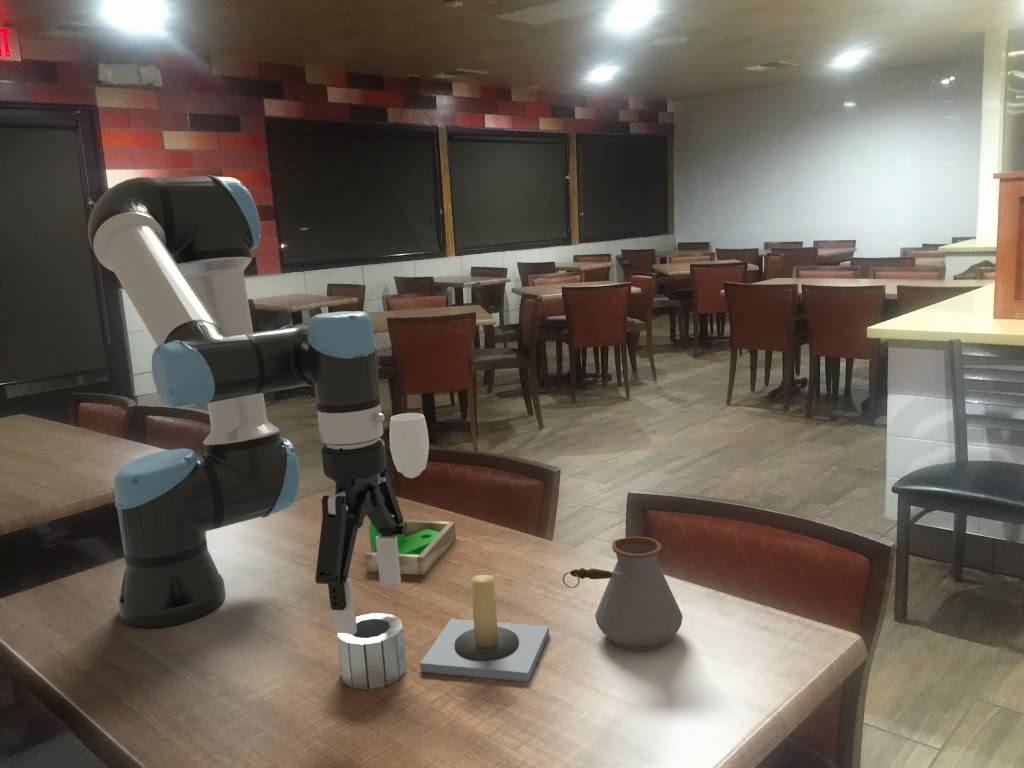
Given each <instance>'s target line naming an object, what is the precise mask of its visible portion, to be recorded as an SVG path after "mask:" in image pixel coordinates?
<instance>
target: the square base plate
mask: <svg viewBox="0 0 1024 768" xmlns="http://www.w3.org/2000/svg"><path fill="white" fill-rule="evenodd" d="M470 584H471V600H472V612H473V613H472V614H473V615H472V616H473V620H470V619H458V618H450V619H449V621H448V622H447V624H446V626H444V628H443V629H442V631H441V632H440V634H439V635H438V637H437V638H436V639H435V641H434V643H433V644H432V645H431V647H430V648H429V649H428V651H427V653H426V654H425V656H424V657H423V659H422V660H421V661H420V663H419V666H420V667H419V668H420V673H429V674H430V673H431V674H441V675H451V676H463V677H470V678H471V677H473V678H481V679H492V680H493V679H495V680H503V681H514V682H515V681H517V682H523V683H524V682H525V683H528V682H530V679H531V677H532V675H533V672H534V670H535V668H536V665H537V663H538V661H539V658H540V656H541V654H542V653H543V650H544V647H545V645H546V643H547V640H548V639H549V638H548V637H549V636H550V626H549V625H548V626H547V625H537V624H525V623H510V622H509V623H508V622H499V621H498V619H497V617H498V615H497V603H496V602H497V601H496V587H495V585H496V582H495V577H494V576H492V575H489V574H480V575H479V574H478V575H475V576H474V577H472V578H471V580H470Z"/></svg>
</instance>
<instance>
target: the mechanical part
mask: <svg viewBox="0 0 1024 768" xmlns="http://www.w3.org/2000/svg"><path fill="white" fill-rule="evenodd" d="M391 515H392V516H394V515H393V514H391ZM398 526H403V524H402V525H398ZM368 533H369V542H370V548H371V549H372V548H373V547H374V546H376V537H377V536H382V534H379V533H378V531H377V530H376V528H375V527H374V525H373V524H372V522H371V521H370V523H369V527H368ZM439 533H440V532H437V531H434V530H430V529H425V530H422V531H420V532H417V533H415V534H412V535H409V536H407V537H404V533H403V534H402V535H398V534H396V536H397V543H398V554H415V555H420V554H421V553H422V551H423V550H424V549H425V548H426V547H427V546H428V545H429V544H430V543H431V542H432V540H433V539H434V538H435V537H436V536H437V535H438V534H439ZM371 549H370V550H371Z"/></svg>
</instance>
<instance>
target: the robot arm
mask: <svg viewBox="0 0 1024 768" xmlns="http://www.w3.org/2000/svg"><path fill="white" fill-rule="evenodd" d="M261 230H262V229H261V221H260V215H259V212H258V209H257V205H256V203H255V201H254V198H253V196H252V194H251V192H250V190H248V188H247V187H246V186H245V185H244V184H243V182H241V181H240V180H238V179H236V178H234V177H231V176H215V175H211V174H209V175H200V176H199V175H195V176H193V175H191V176H188V175H187V176H167V177H166V176H165V177H164V176H163V177H162V176H161V177H160V176H157V177H154V176H153V177H150V176H137V177H135V178H128V179H126V180H123V181H121V182H119V183H117V184H115V185H113V186H112V187H110V188H109V189H107V191H106V192H104V193H103V194H102V195H101V197H100V198H99V199H98V200H97V202H96V203H95V204H94V206H93V208H92V210H91V212H90V215H89V219H88V224H87V237H88V241H89V244H90V245H89V246H90V248H91V250H92V251H93V253H94V254H95V258H96V259H97V261H98V262H99V263H100V264H101V265H102V266H103V267H104V268H105V269H106V270H107V269H108V270H109V271H110V272H113V273H114V274H115V275H116V278H117V279H118V281H119V283H120V284H121V286H122V288H123V290H124V292H125V293H126V294H127V297H128V298H129V300H130V302H131V303H132V305H133V307H134V308H135V311H136V312H137V314H138V316H139V317H140V318H141V321H142V322H143V324H144V325H145V327H146V329H147V330H148V333H149V334H150V336H151V337H152V340H153V342H154V343H155V345H156V347H155V348H154V350H153V352H152V356H151V372H152V378H153V382H154V384H155V387H156V391H157V394H158V396H159V398H160V400H161V402H163V403H164V404H166V405H167V406H168V407H174V408H175V407H182V406H191V405H192V406H193V405H195V406H202V405H207V410H208V416H209V422H210V427H211V428H210V432H209V433H208V435H207V436H206V438H204V440H203V448H204V454H202V455H197V454H196V453H195V451H193V450H192V449H190V448H174V449H171V450H170V449H167V450H161V451H157V452H153V453H150V454H147V455H144V456H141V457H139V458H137V459H135V460H133V461H130V462H128V463H127V464H125V465H124V466H123V467H122V468H121V469H119V471H118V472H117V473H116V475H115V478H114V498H115V499H114V506H115V507H116V510H117V516H118V522H119V528H120V535H121V536H120V537H121V541H122V547H123V555H124V563H125V568H124V574H123V578H122V582H121V583H122V584H121V588H120V594H119V599H118V609H119V617H120V619H121V621H122V622H124V624H127V625H128V626H129V625H130V626H132V627H135V628H136V627H137V628H161V627H167V626H168V627H169V626H174V625H178V624H182V623H186V622H190V621H193V620H195V619H198V618H200V617H203V616H205V615H207V614H209V613H211V612H212V611H214V610H215V609H216V608H217V607H219V606H221V604H222V603H223V602H224V600H225V598H226V595H227V594H226V588H225V581H224V578H223V577H222V575H221V574H220V572H219V570H218V568H217V565H216V564H215V562H214V560H213V557H212V555H211V554H210V552H209V548H208V542H207V532H209V531H212V530H217V529H220V528H223V527H228V526H232V525H235V524H239V523H243V522H247V521H251V520H254V519H258V518H263V519H264V518H267V517H269V516H271V515H274V514H276V513H279V512H282V511H284V510H287V509H288V508H290V506H292V504H294V501H295V500H296V497H297V494H298V491H299V486H300V465H299V459H298V455H297V453H295V452H296V451H295V447H294V445H293V444H292V442H291V441H290V440H289V439H287V438H283V437H281V435H280V434H281V433H280V429H279V428H278V427H276V426H275V425H274V424H273V423H271V422H269V420H268V415H267V408H266V403H265V397H264V394H265V393H270V392H276V391H282V390H288V389H295V388H299V387H308V386H309V387H312V388H314V393H315V394H314V395H315V401H316V412H317V420H318V431H319V432H318V433H319V441H320V442H321V443H323V444H324V445H323V446H322V447H321V448H320V449H321V450H320V451H321V459H322V468H323V474H324V475H325V477H327V478H329V479H331V480H332V481H334V482H335V493H334V495H323V496H322V498H321V510H322V513H321V514H322V518H321V528H320V537H319V545H318V553H317V562H316V571H315V583H316V584H319V585H321V584H322V585H327V587H328V588H327V589H328V596H329V606H330V616H331V626H332V633H333V634H337V633H345V634H355V633H356V632H357V625H356V617H357V616H356V609H355V608H356V607H355V598H354V588H353V587H354V586H353V580H352V578H348V577H349V572H350V568H351V563H352V562H351V561H352V558H353V553H354V548H355V543H356V539H357V535H358V530H359V529H360V528H361V527H363V524H364V519H365V517H366V516H367V517H368V519H369V521H370V523H371V522H372V524H373V525H374V527H375V528H376V530H377V531H378V533H379V534H382V536H377V537H376V548H377V558H378V568H379V572H378V575H379V577H378V579H379V585H386V586H387V585H388V586H400V585H401V584H402V577H401V575H402V574H400V565H399V554H398V543H397V536H396V534H398V535H402V534H403V533H404V526H398V525H402V524H403V520H404V516H403V514H402V511H401V507H400V505H399V502H398V500H397V497H396V496H397V495H396V493H395V491H394V487H393V485H392V483H391V478H390V472H389V466H388V465H387V455H386V445H385V441H384V440H383V439H382V438H381V437H382V436H383V434H384V428H383V427H384V426H383V422H384V421H385V415H384V413H382V408H381V407H382V406H381V393H380V392H381V391H380V379H379V368H378V367H379V365H378V356H377V355H378V354H377V346H378V345H377V340H376V338H375V334H374V333H375V332H374V325H373V319H372V317H371V315H369V313H367V312H365V311H359V310H355V311H354V310H353V311H350V310H349V311H332V312H326V313H319V314H314V315H313V316H312V317H311V318H310V319H309V322H308V323H301V322H299V323H298V324H288V325H285V326H282V327H279V328H278V329H270V330H262V331H256V332H254V330H253V329H254V328H253V323H252V315H251V310H250V305H249V298H248V292H247V286H246V281H245V274H244V273H245V270H246V268H247V267H248V266H249V265H250V263H251V262H252V253H251V252H252V251H253V250H255V249H256V248H258V247H259V245H260V242H261V237H262V236H261V233H260V232H261ZM391 514H393V515H394V516H392V515H391Z"/></svg>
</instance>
